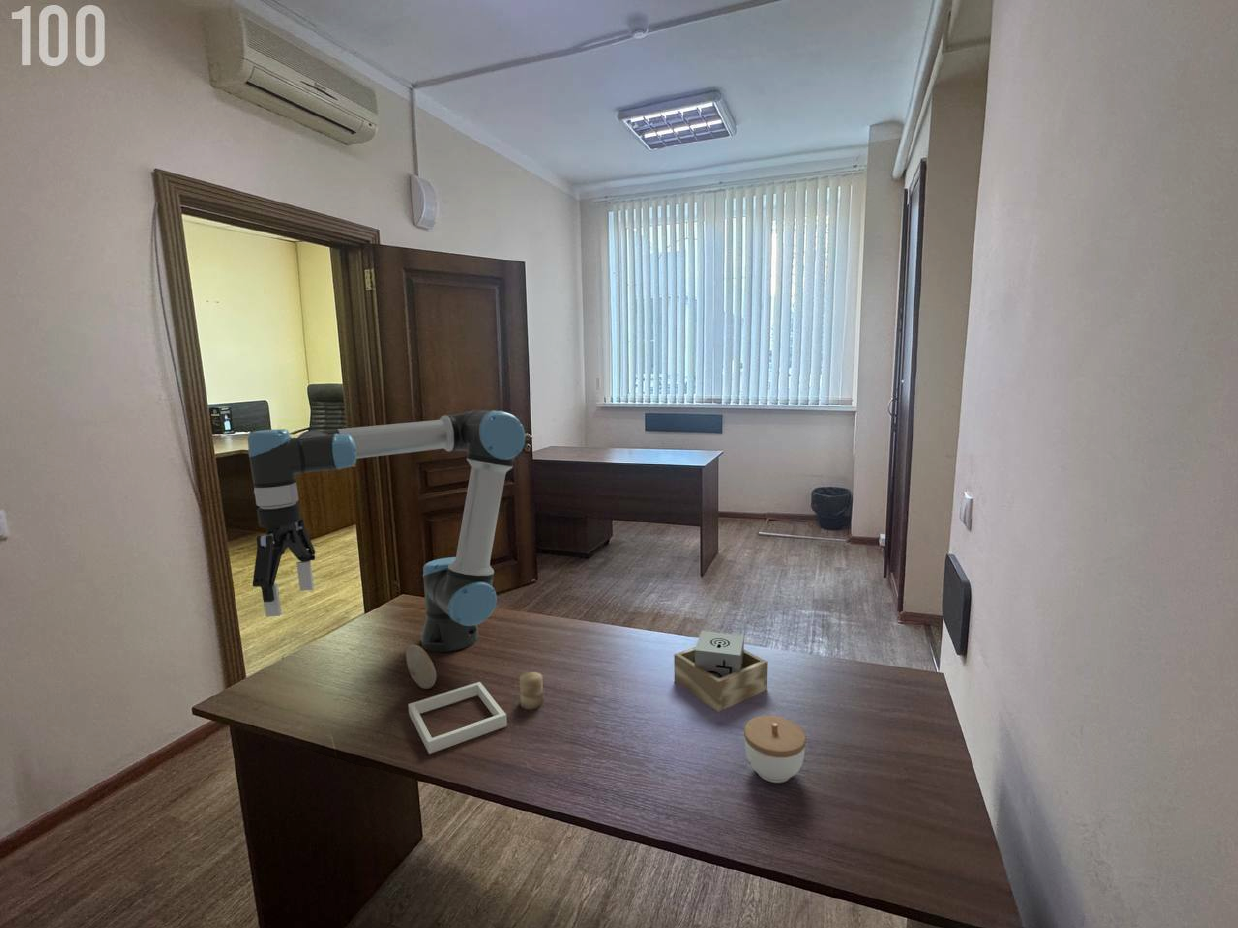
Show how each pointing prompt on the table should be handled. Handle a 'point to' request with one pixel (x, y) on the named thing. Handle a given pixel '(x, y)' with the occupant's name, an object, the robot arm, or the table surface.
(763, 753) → the lidded jar
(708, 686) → the oak crate
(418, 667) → the stone
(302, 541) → the robot arm
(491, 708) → the white rectangular frame
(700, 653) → the icon cube
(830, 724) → the table surface
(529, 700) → the short oak dowel
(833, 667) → the table surface
